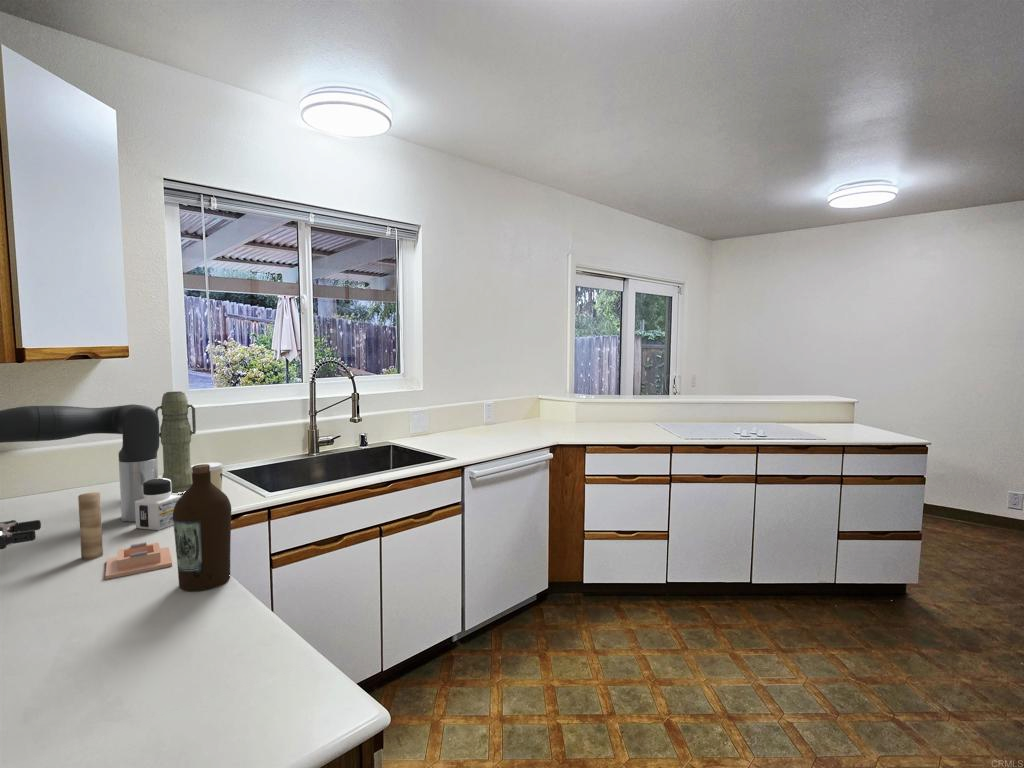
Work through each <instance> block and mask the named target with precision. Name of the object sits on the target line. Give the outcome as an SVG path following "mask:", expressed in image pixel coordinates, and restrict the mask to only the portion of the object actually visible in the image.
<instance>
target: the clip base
mask: <svg viewBox="0 0 1024 768" xmlns="http://www.w3.org/2000/svg"><path fill="white" fill-rule="evenodd" d="M169 547H170V546H166V547H162V548H161V547H160V543H159V541H158V542H154V543H148V544H147V542H146V541H145V542H141V543H134V544H130V547H125V548H121V549H117V554H116V556H112V557H107V558H106V564H105V565H106V566H105V580H110V579H109V578H111V579H115V578H114V577H116V578H120V576H121V577H126V576H131V575H135V574H139V573H145V572H149V571H155V570H159V569H164V568H165V569H166V568H169V566H170V567H173V560H172V556H171V552H170V548H169ZM125 575H126V576H125Z"/></svg>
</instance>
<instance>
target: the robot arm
mask: <svg viewBox="0 0 1024 768" xmlns="http://www.w3.org/2000/svg"><path fill="white" fill-rule="evenodd" d="M154 410H155V409H153V408H151V407H150V406H147V405H142V404H132V403H131V404H123V405H117V406H115V405H114V406H107V407H106V406H105V407H103V406H102V407H81V406H70V405H69V406H67V405H27V406H26V405H25V406H17V407H11V408H7V409H6V408H5V409H1V410H0V443H3V444H4V443H21V442H22V443H23V442H44V441H45V442H50V441H59V440H65V439H72V438H77V437H81V436H86V435H95V434H99V435H100V434H104V435H105V434H106V435H107V434H113V435H114V434H115V435H122V445H121V449H120V450H119V451H118V471H119V472H118V473H119V491H120V495H119V496H120V498H119V499H120V514H121V515H120V516H121V519H122V520H121V521H123V520H126V521H125V522H136V516H135V501H138V500H141V499H144V498H145V497H144V493H143V484H144V482H146V481H148V480H151V479H157V478H159V469H158V450H159V448H160V437H159V434H160V420H159V419H160V418H159V414H158V415H157V413H156V412H155V411H154ZM41 528H42V522H41V520H40V519H36V520H29V521H22V522H21V521H20V522H19V521H17V520H13V519H12V520H7V521H1V522H0V550H4V549H6V548H7V547H10V546H12V544H13V545H14V544H20V543H27V542H32V541H35V540H36V537H37V536H36V531H39V530H40V529H41Z"/></svg>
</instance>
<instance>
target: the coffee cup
mask: <svg viewBox="0 0 1024 768" xmlns="http://www.w3.org/2000/svg"><path fill="white" fill-rule="evenodd" d="M201 464H208V465H210V468H209V470H210V471H211V483H212V484H213V485H214V486H216V487H217V488H218V489H220V490H221V491H222V490H223V489H222V488H223V468H224V466H223V463H222V462H216V461H214V462H211V461H210V462H201V463H196V464H193V465H190V473H191V483H193V482H192V473H193V470H192V467H193V466H195V465H201ZM222 492H223V491H222Z"/></svg>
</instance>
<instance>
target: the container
mask: <svg viewBox="0 0 1024 768" xmlns="http://www.w3.org/2000/svg"><path fill="white" fill-rule="evenodd" d="M143 493H144V497H145V498H144V499H141V500H138V501H135V516H136V521H135V528H136V529H138V528H139V530H141V529H142V530H150V531H151V530H154V531H160V530H163V529H167V528H168V527H171V526H174V525H173V520H172V518H173V511H174V507H175V504H176V502H177V501H178V500H179V498H180V497H181V496H180V495H170V494H172V489H171V480H170V479H166V478H162V477H160V478H159V477H158V478H157V479H151V480H148V481H146V482H144V484H143Z"/></svg>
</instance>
